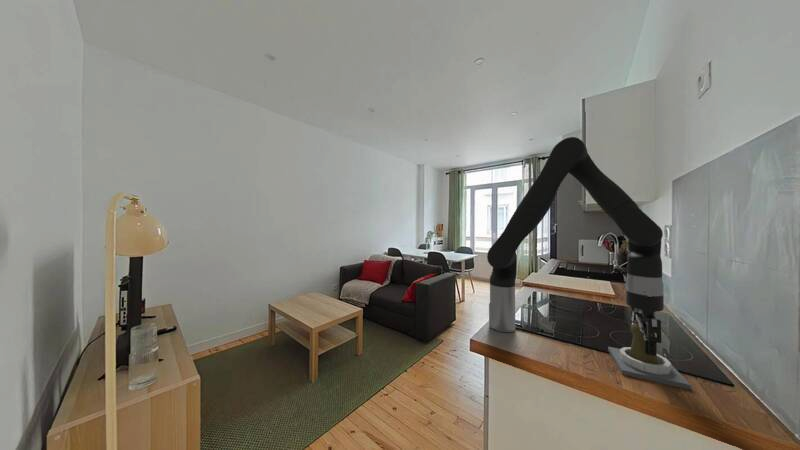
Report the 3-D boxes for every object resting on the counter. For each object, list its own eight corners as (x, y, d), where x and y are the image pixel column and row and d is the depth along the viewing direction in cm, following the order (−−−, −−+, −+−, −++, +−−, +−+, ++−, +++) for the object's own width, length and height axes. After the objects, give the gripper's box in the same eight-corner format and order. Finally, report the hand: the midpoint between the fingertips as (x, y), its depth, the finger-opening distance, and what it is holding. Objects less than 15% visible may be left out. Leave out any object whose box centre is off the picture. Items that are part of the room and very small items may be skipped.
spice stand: (621, 374, 66) (621, 362, 66) (608, 350, 78) (608, 340, 78) (691, 390, 59) (691, 377, 59) (664, 361, 72) (664, 350, 72)
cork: (665, 370, 65) (665, 330, 65) (639, 368, 66) (639, 328, 66) (647, 358, 71) (647, 321, 71) (623, 356, 72) (623, 319, 72)
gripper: (619, 283, 77) (619, 334, 77) (635, 295, 64) (635, 356, 64) (651, 286, 73) (651, 339, 73) (675, 300, 60) (675, 364, 61)
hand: (644, 347), depth 69 cm, fingers open, 8 cm apart
